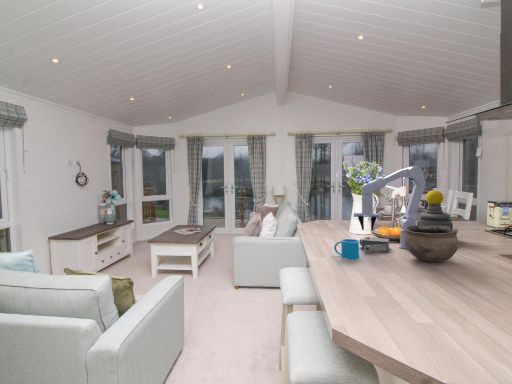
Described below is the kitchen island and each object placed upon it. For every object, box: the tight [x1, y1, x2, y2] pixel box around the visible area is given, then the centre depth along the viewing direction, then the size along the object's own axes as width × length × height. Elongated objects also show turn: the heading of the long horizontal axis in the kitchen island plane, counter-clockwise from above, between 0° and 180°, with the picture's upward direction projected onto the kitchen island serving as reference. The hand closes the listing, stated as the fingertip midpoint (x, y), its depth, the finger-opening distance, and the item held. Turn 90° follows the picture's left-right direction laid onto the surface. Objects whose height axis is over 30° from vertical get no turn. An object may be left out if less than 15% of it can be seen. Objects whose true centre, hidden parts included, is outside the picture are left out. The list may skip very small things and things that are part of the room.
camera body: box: [359, 236, 390, 251], centre depth 171 cm, size 15×8×6 cm, turn 63°
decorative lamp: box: [416, 189, 454, 231], centre depth 186 cm, size 19×19×30 cm
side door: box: [363, 244, 389, 254], centre depth 163 cm, size 13×2×4 cm, turn 98°
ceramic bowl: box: [404, 224, 459, 263], centre depth 146 cm, size 22×22×15 cm
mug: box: [333, 238, 360, 260], centre depth 156 cm, size 12×8×8 cm
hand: (367, 230), depth 175 cm, fingers open, 4 cm apart
